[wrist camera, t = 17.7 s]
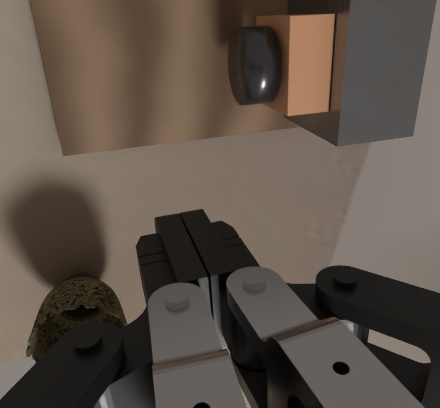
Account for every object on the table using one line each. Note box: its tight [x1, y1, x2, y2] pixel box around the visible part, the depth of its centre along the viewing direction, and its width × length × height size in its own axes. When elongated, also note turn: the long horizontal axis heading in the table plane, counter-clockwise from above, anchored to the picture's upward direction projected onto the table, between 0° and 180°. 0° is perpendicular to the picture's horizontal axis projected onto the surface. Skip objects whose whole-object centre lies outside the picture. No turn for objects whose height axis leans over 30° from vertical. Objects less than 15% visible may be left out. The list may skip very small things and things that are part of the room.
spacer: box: [256, 14, 335, 116], centre depth 29 cm, size 3×6×6 cm, turn 2°
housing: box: [284, 0, 436, 147], centre depth 30 cm, size 6×10×8 cm, turn 2°
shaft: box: [228, 25, 282, 106], centre depth 29 cm, size 12×5×5 cm, turn 92°
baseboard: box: [30, 0, 301, 156], centre depth 32 cm, size 24×11×2 cm, turn 92°
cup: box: [26, 274, 127, 363], centre depth 35 cm, size 8×7×8 cm
